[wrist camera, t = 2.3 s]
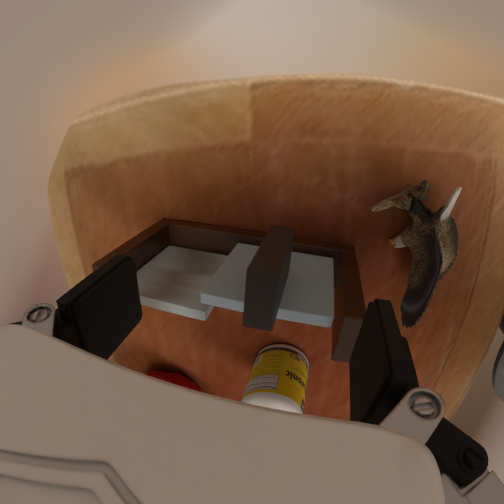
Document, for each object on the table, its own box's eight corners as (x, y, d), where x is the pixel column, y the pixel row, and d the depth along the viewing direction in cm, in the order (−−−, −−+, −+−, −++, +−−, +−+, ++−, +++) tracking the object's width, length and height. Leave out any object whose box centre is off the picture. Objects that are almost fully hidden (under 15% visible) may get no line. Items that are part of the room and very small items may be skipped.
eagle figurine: (338, 214, 20) (379, 324, 21) (402, 197, 13) (444, 346, 14) (406, 181, 22) (439, 278, 22) (470, 161, 15) (502, 283, 15)
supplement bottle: (315, 375, 28) (304, 456, 19) (267, 382, 30) (244, 457, 21) (300, 337, 26) (284, 423, 18) (248, 346, 28) (216, 424, 20)
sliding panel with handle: (340, 218, 20) (350, 286, 11) (331, 266, 22) (330, 353, 13) (240, 204, 21) (182, 257, 13) (237, 250, 23) (185, 324, 14)
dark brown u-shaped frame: (354, 246, 22) (367, 320, 13) (346, 280, 23) (352, 363, 15) (163, 218, 25) (91, 264, 16) (164, 249, 26) (99, 304, 18)
